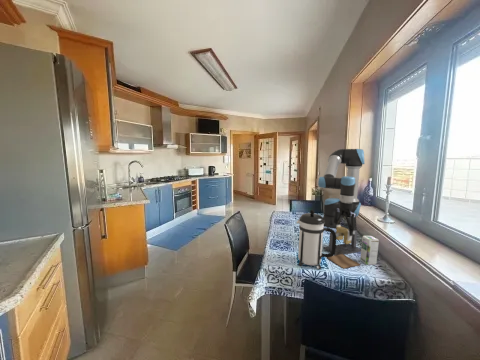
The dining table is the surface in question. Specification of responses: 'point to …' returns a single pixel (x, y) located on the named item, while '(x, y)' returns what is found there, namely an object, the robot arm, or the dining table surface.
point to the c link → (345, 231)
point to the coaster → (343, 261)
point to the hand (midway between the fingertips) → (343, 237)
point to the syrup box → (369, 250)
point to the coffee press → (313, 239)
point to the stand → (344, 245)
